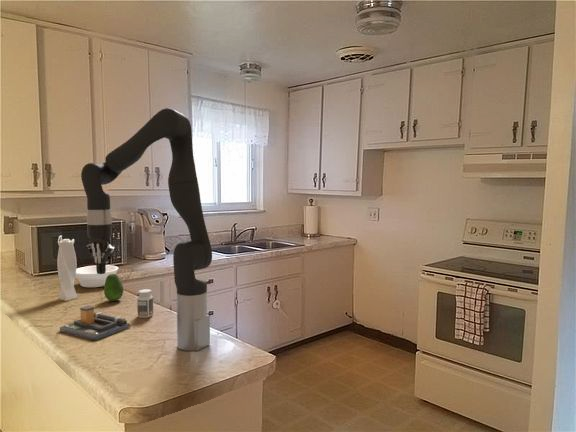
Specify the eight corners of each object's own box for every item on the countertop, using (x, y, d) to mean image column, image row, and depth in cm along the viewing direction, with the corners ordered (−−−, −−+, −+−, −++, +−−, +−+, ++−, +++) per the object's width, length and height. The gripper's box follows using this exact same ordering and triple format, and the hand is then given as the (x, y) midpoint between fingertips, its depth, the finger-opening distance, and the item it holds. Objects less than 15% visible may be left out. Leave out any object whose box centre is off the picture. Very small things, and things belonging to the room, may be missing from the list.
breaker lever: (94, 322, 143) (94, 307, 143) (86, 325, 140) (86, 309, 140) (88, 321, 144) (88, 305, 144) (80, 323, 142) (80, 308, 141)
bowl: (126, 281, 212) (126, 265, 211) (104, 291, 191) (103, 274, 190) (88, 279, 214) (88, 264, 213) (62, 289, 193) (62, 273, 192)
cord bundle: (127, 323, 143) (127, 317, 143) (121, 325, 141) (121, 319, 141) (96, 316, 150) (96, 310, 150) (90, 318, 148) (90, 312, 148)
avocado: (101, 300, 175) (100, 273, 174) (119, 297, 181) (118, 271, 180) (108, 304, 169) (107, 276, 169) (126, 301, 175) (126, 274, 174)
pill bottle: (148, 312, 160) (147, 288, 159) (156, 315, 156) (155, 290, 155) (134, 316, 155) (134, 290, 155) (142, 319, 152) (142, 293, 151)
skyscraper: (54, 299, 177) (51, 236, 175) (70, 295, 183) (68, 234, 181) (65, 301, 173) (63, 237, 171) (81, 297, 180) (79, 235, 178)
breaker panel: (129, 327, 143) (129, 320, 143) (95, 340, 130) (95, 332, 130) (95, 319, 151) (95, 312, 151) (59, 331, 138) (59, 323, 138)
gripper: (122, 222, 136) (123, 273, 137) (95, 221, 142) (97, 270, 143) (103, 224, 130) (105, 277, 131) (76, 223, 136) (78, 273, 137)
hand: (101, 273), depth 137 cm, fingers closed
